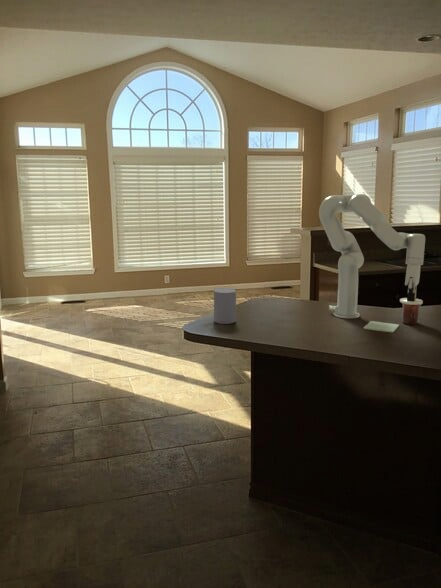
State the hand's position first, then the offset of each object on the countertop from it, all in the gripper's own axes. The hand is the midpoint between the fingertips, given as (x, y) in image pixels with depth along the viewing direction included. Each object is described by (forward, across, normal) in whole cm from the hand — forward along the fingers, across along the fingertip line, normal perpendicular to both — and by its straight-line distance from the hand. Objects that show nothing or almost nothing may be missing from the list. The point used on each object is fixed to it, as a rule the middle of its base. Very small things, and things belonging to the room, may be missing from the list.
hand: (411, 299), depth 243 cm
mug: (+12, 0, 0) cm, 12 cm away
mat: (+12, +13, -10) cm, 20 cm away
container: (+12, +40, -77) cm, 88 cm away
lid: (+1, 0, 0) cm, 1 cm away
